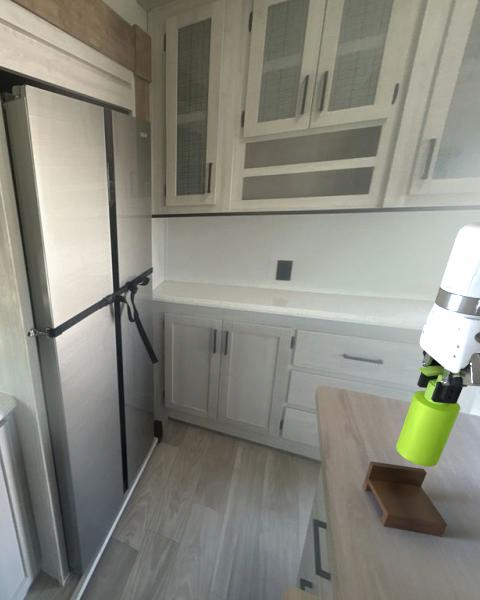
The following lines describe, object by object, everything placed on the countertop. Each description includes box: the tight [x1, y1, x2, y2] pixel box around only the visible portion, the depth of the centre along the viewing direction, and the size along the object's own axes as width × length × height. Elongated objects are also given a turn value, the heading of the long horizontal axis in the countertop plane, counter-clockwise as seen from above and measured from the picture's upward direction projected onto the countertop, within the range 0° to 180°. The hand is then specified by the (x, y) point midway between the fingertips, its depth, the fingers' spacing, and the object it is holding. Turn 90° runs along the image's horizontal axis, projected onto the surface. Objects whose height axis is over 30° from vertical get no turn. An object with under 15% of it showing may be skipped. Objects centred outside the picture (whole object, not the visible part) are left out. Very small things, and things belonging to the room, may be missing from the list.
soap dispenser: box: [395, 366, 461, 468], centre depth 61 cm, size 6×7×20 cm
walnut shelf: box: [362, 461, 448, 538], centre depth 67 cm, size 9×9×9 cm
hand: (435, 393), depth 59 cm, fingers closed on soap dispenser, 3 cm apart
